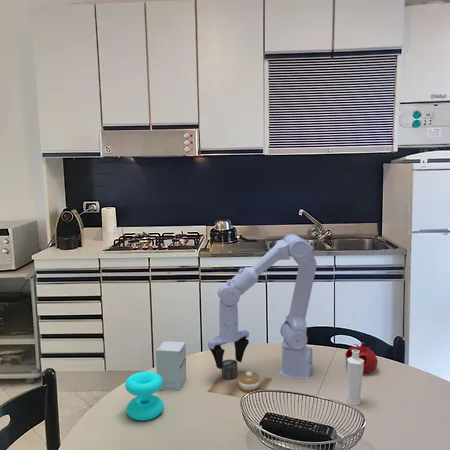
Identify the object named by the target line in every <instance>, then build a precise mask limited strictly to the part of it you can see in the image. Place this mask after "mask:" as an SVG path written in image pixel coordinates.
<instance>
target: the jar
mask: <svg viewBox="0 0 450 450" xmlns="http://www.w3.org/2000/svg"><path fill="white" fill-rule="evenodd" d="M259 376H260V375H259V374H258V373H256V372H252V371H246V372H242V373H241V374H240V375H239V389H240V390H241V391H242V392H245V393H250V392H253V391H257V390H259Z"/></svg>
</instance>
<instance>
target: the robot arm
mask: <svg viewBox="0 0 450 450" xmlns="http://www.w3.org/2000/svg"><path fill="white" fill-rule="evenodd" d="M290 257H292V259H293V260H294V261H295V263H296V264H297V265H298V269H297V274H296V278H295V284H294V289H293V292H292V297H291V302H290V307H289V313H288V314H287V315H286V316H285V319H284V322H283V323H282V325H281V327H280V330H279V331H280V335H281V336H282V338H283V341H282V343H281V369H280V371H279V372H278V375H279V376H285V377H291V378H296V379H297V378H299V379H305V380H309V378H310V376H311V373H312V371H313V355H314V354H313V347H310V346H307V344H308V336H307V335H308V334H307V330H308V327H307V326H308V325H307V322H306V321H307V320H306V317H307V312H308V309H309V308H308V307H309V303H310V299H311V294H312V289H313V285H314V280H315V275H316V270H317V265H318V264H317V261H316V257H315V255H314V252H313V246H312V245H311V244H310V243H309V241H307V240H305V239H304V238H302V237H299V236H298V235H297V234H294V233H289V234H287V235H285V236H284V237H283V238H282V239H280V240H278V241H277V242H276V244H274V246H272V247H271V248H270V249H269V250H268V251H267V252H266V253H265V254H264V255H263V256H262V257H261V258H260V259H259V260H258V261H256V263H254V264H253V265H252V266H251V267H249V266H248V267H247V266H246V267H244V268H242V267H241V268H240V269H238V273H237V274H236V275H234V276H233V277H232V278H230V279H227V281H226V283H223V284H221V285H220V287H219V288H218V290H217V292H216V293H217V296H218V298H219V308H218V309H219V310H218V311H219V312H218V314H219V318H218V319H219V334H218V336H216V337H214V338H213V339H210V340H207V346H208V348H209V350H210V352H211V354H212V356H213V358H214V362H215V366H216V368H217V369H219V370H222V367H223V361H224V354H225V351H226V350H225V349H224V348H222V346H223V345H225V344H229V343H230V344H231V343H234V344H233V346H234V351H235V361H237V363H242V361H243V357H244V354H245V352H246V349H247V347H248V345H249V344H250V343H249V342H250V339H249V338H250V332H249V331H248V330H246V329H245V330H244V329H243V330H239V310H238V303H239V301H240V298H241V296H242V295H244V294H245V293H246V292H247V291H248V290H249V289H251V288H253V286H254V285H255V284H256V283H258V282H259V280H258V279H259V276H260V275H261V274H262V273H264V272H265V271H267V270H269V268H270V267H271V266H273V265H275V263H277V262H278V261H282V260H286V261H287V260H288V261H289V260H291V258H290Z"/></svg>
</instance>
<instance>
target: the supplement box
mask: <svg viewBox="0 0 450 450" xmlns="http://www.w3.org/2000/svg"><path fill="white" fill-rule="evenodd" d="M186 348H187V347H186V342H185V341H169V340H168V341H165V340H164V341H162V342H161V344H160V345H159V346H158V347H157V349H156V350H155V363H156V365H155V366H156V373H157V374H159V375H160V376H161V378H162V380H163V383H162V386H161V388H160V389H159V390H158V391H166V390H169V391H171V390H172V391H181V390H182V387H183V386H184V384H185V382H186V381H187V350H186Z"/></svg>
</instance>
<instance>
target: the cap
mask: <svg viewBox="0 0 450 450" xmlns="http://www.w3.org/2000/svg"><path fill="white" fill-rule="evenodd" d="M238 367H239V366H238V361H236V359H231V358H229V359H225V360H224V359H223V367H222V369H221V374H222V378H223V379H225V380H234V379H236V378H237V376H238V373H239V372H238V371H239V370H238Z"/></svg>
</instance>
